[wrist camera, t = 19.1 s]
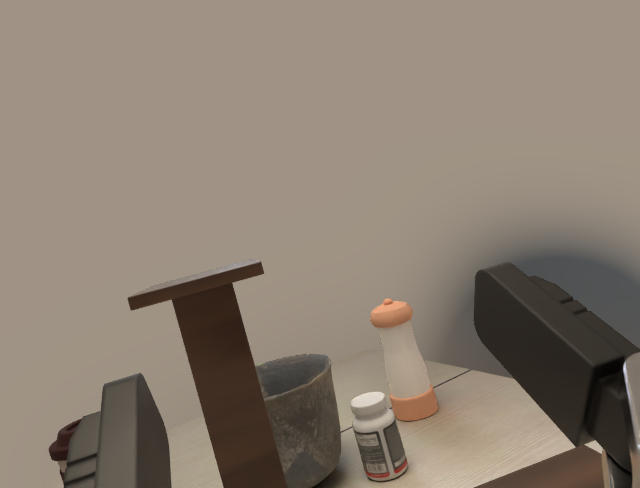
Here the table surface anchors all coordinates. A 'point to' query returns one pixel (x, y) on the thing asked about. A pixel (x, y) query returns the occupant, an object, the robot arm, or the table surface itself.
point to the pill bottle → (378, 437)
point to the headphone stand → (247, 399)
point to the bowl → (302, 416)
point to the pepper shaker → (403, 362)
